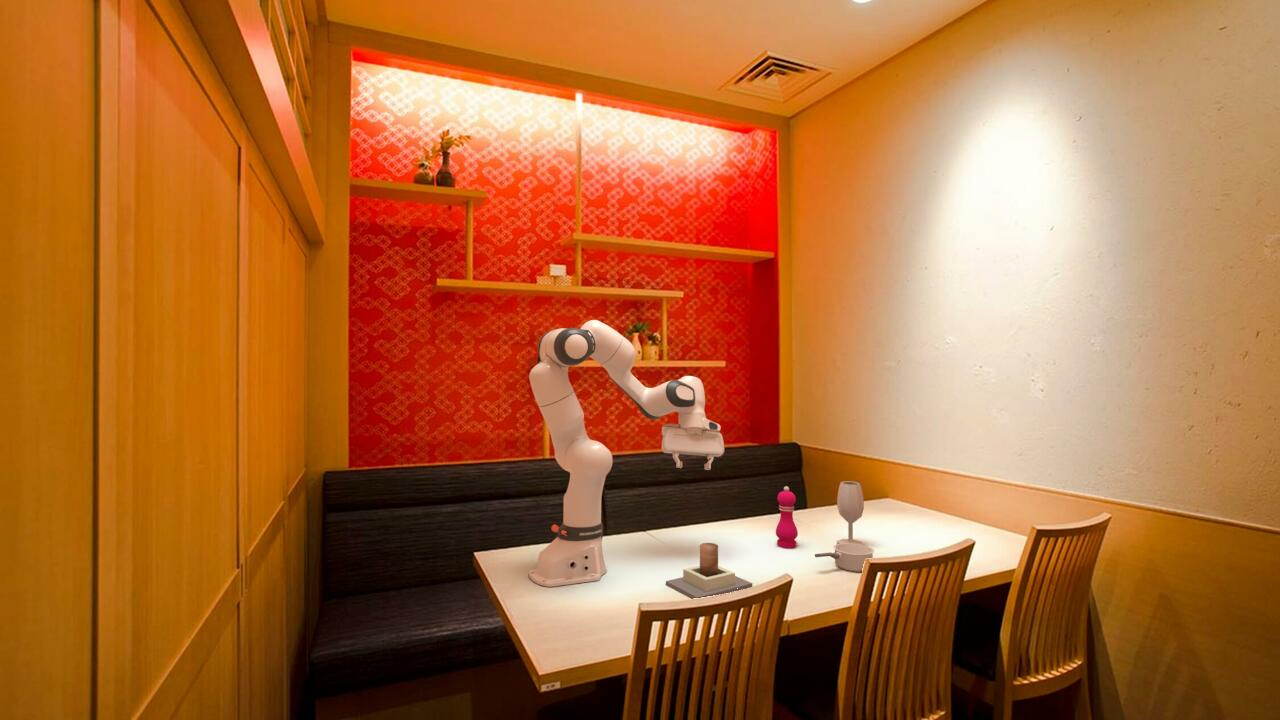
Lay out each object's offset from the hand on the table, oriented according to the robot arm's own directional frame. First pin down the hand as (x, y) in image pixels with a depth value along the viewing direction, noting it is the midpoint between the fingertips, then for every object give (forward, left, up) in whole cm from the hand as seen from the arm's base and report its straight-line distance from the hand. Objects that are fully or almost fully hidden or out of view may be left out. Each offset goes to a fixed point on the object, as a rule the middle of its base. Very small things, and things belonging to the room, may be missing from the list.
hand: (693, 468), depth 185 cm
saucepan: (+32, -30, -29) cm, 53 cm away
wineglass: (+55, -16, -29) cm, 64 cm away
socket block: (-10, -20, -28) cm, 36 cm away
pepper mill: (+36, -5, -29) cm, 46 cm away
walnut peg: (-10, -20, -27) cm, 35 cm away
